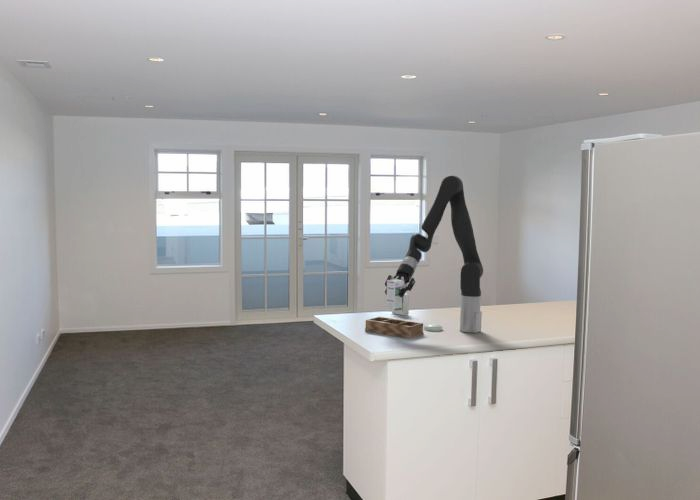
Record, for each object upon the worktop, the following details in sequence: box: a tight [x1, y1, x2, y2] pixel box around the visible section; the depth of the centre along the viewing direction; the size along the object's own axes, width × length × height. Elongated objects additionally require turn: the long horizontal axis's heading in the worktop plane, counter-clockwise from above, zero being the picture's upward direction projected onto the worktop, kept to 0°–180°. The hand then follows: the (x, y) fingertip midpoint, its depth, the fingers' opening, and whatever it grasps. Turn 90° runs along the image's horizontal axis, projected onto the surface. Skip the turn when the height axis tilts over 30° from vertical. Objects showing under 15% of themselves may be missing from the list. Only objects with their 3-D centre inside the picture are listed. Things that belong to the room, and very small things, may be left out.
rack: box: [364, 316, 424, 339], centre depth 314 cm, size 24×13×5 cm, turn 54°
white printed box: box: [391, 292, 410, 316], centre depth 362 cm, size 10×4×12 cm, turn 39°
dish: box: [423, 323, 444, 332], centre depth 324 cm, size 9×9×2 cm
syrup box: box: [385, 279, 404, 313], centre depth 313 cm, size 6×6×14 cm
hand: (393, 295), depth 312 cm, fingers closed on syrup box, 7 cm apart
